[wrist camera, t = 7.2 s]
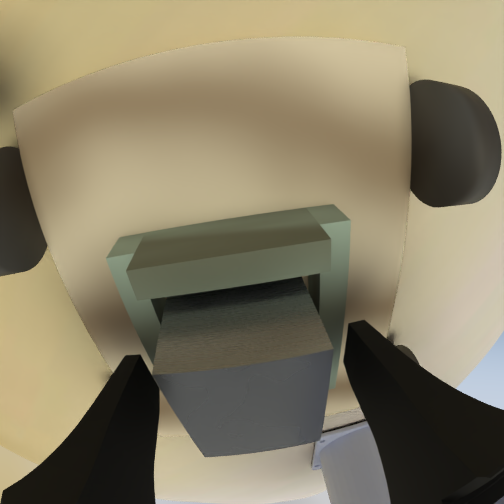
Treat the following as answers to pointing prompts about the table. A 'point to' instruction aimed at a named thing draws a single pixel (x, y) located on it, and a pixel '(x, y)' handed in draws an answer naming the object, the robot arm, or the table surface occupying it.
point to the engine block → (245, 367)
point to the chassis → (238, 183)
